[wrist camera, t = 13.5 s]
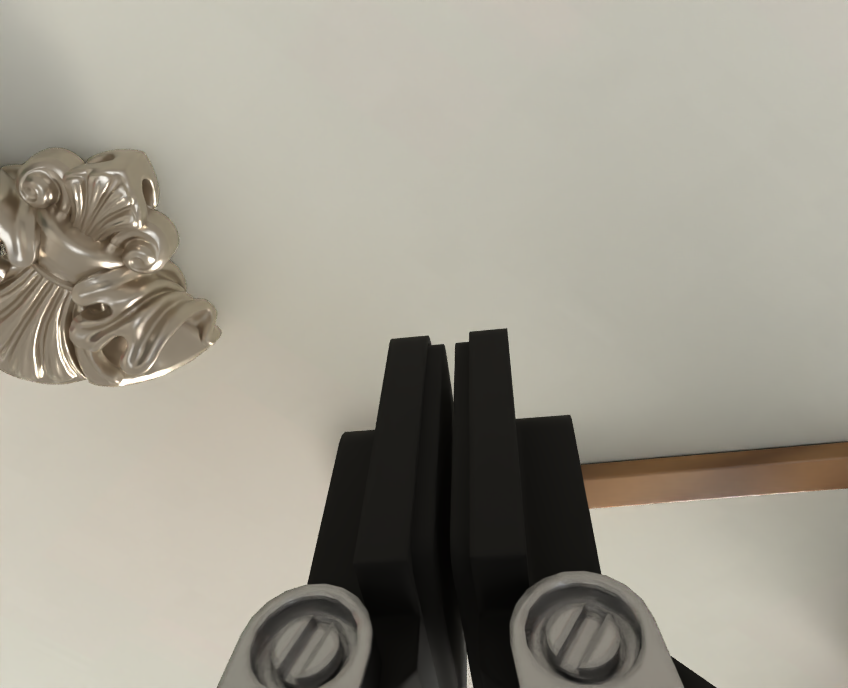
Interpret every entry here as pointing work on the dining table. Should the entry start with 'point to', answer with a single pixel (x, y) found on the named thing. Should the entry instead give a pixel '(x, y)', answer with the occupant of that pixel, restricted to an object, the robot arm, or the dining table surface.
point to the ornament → (92, 274)
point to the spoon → (717, 475)
